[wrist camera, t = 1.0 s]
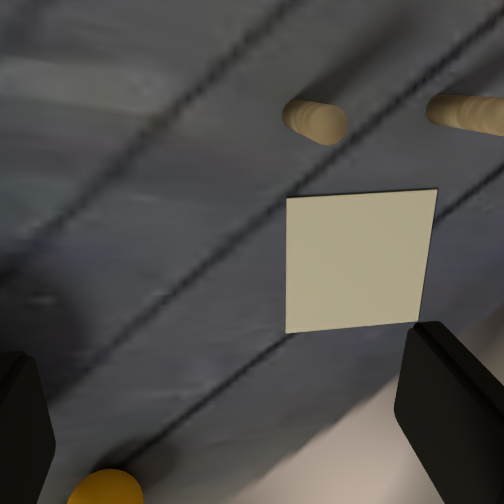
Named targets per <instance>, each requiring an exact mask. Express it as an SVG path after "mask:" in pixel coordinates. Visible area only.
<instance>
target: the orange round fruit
mask: <svg viewBox="0 0 504 504" xmlns="http://www.w3.org/2000/svg"><path fill="white" fill-rule="evenodd" d="M67 504H144V498H143V494H142V490H141V487H140V485H139V483H138V482H137V481H136V479H135V478H134V477H133V476H131V475H130V474H128V473H127V472H125V471H121V470H118V469H105V470H100V471H97V472H95V473H92V474H90V475H89V476H87V477H86V478H85V479H84V480H82V481H81V482H80V483H79V484H78V485H77V487H76V488H75V490H74V491H73V493H72V494H71V496H70V498H69V499H68V502H67Z"/></svg>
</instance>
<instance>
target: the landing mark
mask: <svg viewBox="0 0 504 504" xmlns="http://www.w3.org/2000/svg"><path fill="white" fill-rule="evenodd" d="M436 196H437V189H433V190H416V191H399V192H382V193H365V194H348V195H331V196H314V197H297V198H287V213H286V333H295V332H305V331H316V330H327V329H337V328H348V327H359V326H370V325H380V324H391V323H402V322H413V321H418V316H419V309H420V303H421V296H422V289H423V283H424V276H425V269H426V263H427V256H428V249H429V243H430V236H431V229H432V222H433V216H434V209H435V202H436Z"/></svg>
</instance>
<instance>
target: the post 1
mask: <svg viewBox="0 0 504 504" xmlns="http://www.w3.org/2000/svg"><path fill="white" fill-rule="evenodd" d="M282 118H283V121H284V123H285V125H286V126H287V127H288V128H290V129H292V130H294V131H296V132H298V133H300V134H302V135H304V136H306V137H308V138H310V139H312V140H314V141H316V142H318V143H320V144H322V145H332V144H335V143H337V142H338V141H340V140H341V139H342V137H343V136H344V135H345V133H346V130H347V117H346V115H345V113H344V112H343V110H342V109H340V108H339V107H337V106H334V105H329V104H323V103H317V102H312V101H306V100H300V99H294V100H291V101H290V102H288V103H287V104H286V105H285V107H284V109H283V113H282Z"/></svg>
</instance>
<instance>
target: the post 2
mask: <svg viewBox="0 0 504 504" xmlns="http://www.w3.org/2000/svg"><path fill="white" fill-rule="evenodd" d="M426 116H427V119H428V120H429V121H430V122H431V123H434V124H439V125H444V126H450V127H455V128H461V129H467V130H472V131H478V132H483V133H489V134H494V135H500V136H504V98H502V97H483V96H465V95H446V94H440V95H436V96H434V97H433V98H432V99H431V100H430V101H429V103H428V105H427V107H426Z"/></svg>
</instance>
